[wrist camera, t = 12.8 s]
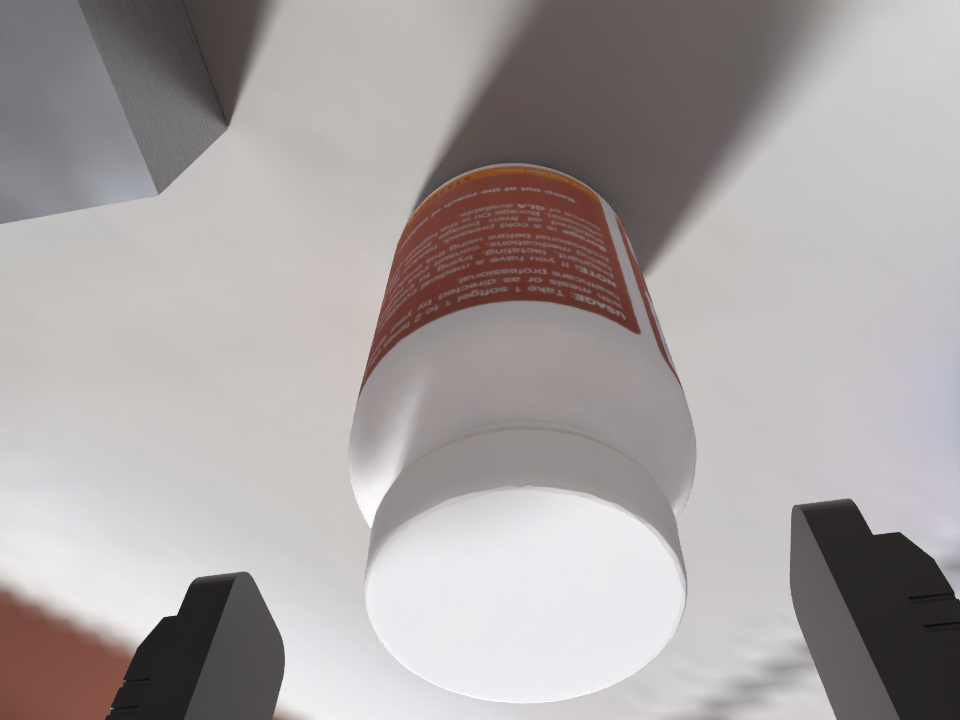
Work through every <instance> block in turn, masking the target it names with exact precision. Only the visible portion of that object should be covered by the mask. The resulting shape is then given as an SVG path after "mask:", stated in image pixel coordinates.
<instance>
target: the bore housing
mask: <svg viewBox="0 0 960 720" xmlns="http://www.w3.org/2000/svg"><path fill="white" fill-rule="evenodd" d="M227 129H228V128H227V125H226V123H225V120H224V117H223V114H222V111H221V109H220V106H219V103H218V100H217V97H216V94H215V92H214V89H213V86H212V83H211V80H210V77H209V75H208V72H207V69H206V66H205V63H204V61H203V58H202V55H201V52H200V49H199V46H198V44H197V41H196V38H195V35H194V32H193V29H192V27H191V24H190V21H189V18H188V15H187V12H186V10H185V7H184V4H183V1H182V0H0V224H3V223H9V222H14V221H20V220H25V219H31V218H36V217H41V216H47V215H52V214H58V213H63V212H69V211H74V210H80V209H85V208H91V207H96V206H102V205H107V204H113V203H118V202H124V201H129V200H135V199H140V198H146V197H151V196H157V195H159V194H160V193H161V192H163V191H164V190H165V189H166V188H167V187H168V186H169V185H170V184H171V183H172V182H173V181H174V180H175V179H176V178H177V177H178V176H179V175H180V174H181V173H182V172H183V171H184V170H185V169H186V168H188V167H189V166H190V165H191V164H192V163H193V162H194V161H195V160H196V159H197V158H198V157H199V156H200V155H201V154H202V153H203V152H204V151H205V150H206V149H207V148H208V147H209V146H210V145H212V144H213V143H214V142H215V141H216V140H217V139H218V138H219V137H220V136H221V135H222V134H223V133H224V132H225V131H226V130H227Z"/></svg>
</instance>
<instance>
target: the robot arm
mask: <svg viewBox="0 0 960 720" xmlns="http://www.w3.org/2000/svg"><path fill="white" fill-rule="evenodd" d="M790 588H791V595H792V600H793V605H794V609H795V613H796V616H797V619H798V622H799V625H800V628H801V630H802V633H803V635H804V638H805V640H806V643H807V645H808V648H809V650H810V653H811V656H812V658H813V661H814V663H815V666H816V668H817V671H818V673H819V676H820V678H821V681H822V683H823V686H824V688H825V691H826V693H827V696H828V698H829V701H830V704H831V706H832V709H833V711H834V714H835V716H836V719H837V720H960V600H959V599H956V598H955V594H954V591H953V589H952V588H951V586H950V584H949V583H948V581H947V580H946V578H945V576H944V575H943V573H942V572H941V570H940V568H939V567H938V565H937V564H936V562H935V560H934V559H933V558H932V557H931V556H929V555H928V554H927V553H926V552H924V551H923V550H922V549H920V548H919V547H918V546H917V545H915V544H914V543H913V542H912V541H910V540H909V539H908V538H907V537H905V536H904V535H903V534H901V533H900V532H895V533H886V534H878V535H873V534H872V532H871V530H870V529H869V527H868V525H867V523H866V521H865V520H864V518H863V516H862V514H861V512H860V511H859V509H858V507H857V506H856V504H855V503H854V502H853V501H852V500H851V499H841V500H833V501H825V502H817V503H809V504H801V505H794V506H793V509H792V516H791V552H790ZM284 666H285V654H284V645H283V641H282V637H281V635H280V632H279V630H278V628H277V626H276V624H275V622H274V620H273V618H272V616H271V614H270V612H269V610H268V608H267V606H266V604H265V602H264V599H263V597H262V595H261V593H260V591H259V589H258V587H257V585H256V583H255V581H254V579H253V578H252V576H251V575H250V574H249V573H248V572H237V573H229V574H221V575H213V576H205V577H198V578H196V579H195V580H194V581H193V582H192V583H191V584H190V586H189V588H188V590H187V593H186V595H185V598H184V600H183V602H182V605H181V607H180V609H179V612H178V614H177V616H169V617H164V618H163V619H162V620H161V621H160V622H159V623H158V625H157V626H156V627H155V628H154V629H153V630H152V632H151V633H150V634H149V635H148V636H147V637H146V639H145V640H144V641H143V642H142V643H141V644H140V646H139V647H138V648H137V651H136V653H135V655H134V657H133V659H132V662H131V664H130V666H129V668H128V670H127V673H126V675H125V677H124V679H123V687H121V688H119V690H118V692H117V695H116V697H115V699H114V701H113V703H112V706H111V708H110V709H111V714H110V715H107V717H106V719H105V720H272V718H273V714H274V710H275V707H276V703H277V699H278V695H279V691H280V687H281V683H282V680H283V675H284Z"/></svg>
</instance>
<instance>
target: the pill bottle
mask: <svg viewBox="0 0 960 720" xmlns="http://www.w3.org/2000/svg"><path fill="white" fill-rule="evenodd" d="M695 466H696V438H695V432H694V427H693V423H692V419H691V415H690V412H689V408H688V405H687V401H686V398H685V395H684V392H683V389H682V386H681V383H680V381H679V378H678V375H677V372H676V369H675V367H674V364H673V361H672V358H671V355H670V352H669V350H668V347H667V344H666V341H665V338H664V335H663V332H662V329H661V326H660V323H659V320H658V317H657V315H656V312H655V309H654V306H653V303H652V300H651V297H650V295H649V292H648V289H647V286H646V283H645V281H644V278H643V275H642V272H641V269H640V266H639V263H638V261H637V259H636V256H635V253H634V250H633V247H632V245H631V242H630V240H629V237H628V235H627V233H626V231H625V228H624V227H623V225H622V223H621V221H620V219H619V218H618V216H617V215H616V213H615V212H614V211H613V209H612V208H611V207H610V206H609V204H608V203H607V202H606V201H605V200H604V199H603V198H602V197H601V196H600V195H599V194H598V193H597V192H595V191H594V190H593V189H592V188H590V187H589V186H587V185H586V184H585V183H583V182H581V181H579V180H578V179H576V178H574V177H572V176H570V175H568V174H565V173H563V172H560V171H557V170H554V169H551V168H547V167H544V166H539V165H533V164H526V163H503V164H494V165H488V166H483V167H480V168H476V169H473V170H470V171H467V172H465V173H463V174H460V175H458V176H456V177H454V178H452V179H451V180H449V181H447V182H446V183H444V184H443V185H441V186H440V187H439V188H437V189H436V190H435V191H433V192H432V193H431V194H430V195H429V196H428V197H427V198H426V199H425V200H424V201H423V202H422V203H421V204H420V205H419V206H418V208H417V209H416V210H415V211H414V213H413V214H412V216H411V217H410V219H409V221H408V222H407V224H406V226H405V228H404V230H403V232H402V235H401V237H400V240H399V242H398V245H397V248H396V251H395V255H394V259H393V263H392V267H391V271H390V275H389V279H388V283H387V287H386V291H385V295H384V299H383V302H382V306H381V310H380V314H379V318H378V322H377V326H376V330H375V334H374V338H373V342H372V346H371V350H370V353H369V357H368V361H367V365H366V369H365V373H364V376H363V380H362V384H361V388H360V392H359V397H358V401H357V405H356V409H355V413H354V417H353V424H352V428H351V434H350V442H349V471H350V477H351V483H352V487H353V490H354V494H355V497H356V500H357V503H358V505H359V507H360V509H361V511H362V514H363V516H364V518H365V519H366V521H367V523H368V525H369V526H370V528H371V536H370V545H369V552H368V559H367V566H366V572H365V590H364V593H365V605H366V609H367V612H368V616H369V619H370V621H371V624H372V626H373V628H374V630H375V632H376V634H377V636H378V637H379V639H380V640H381V642H382V643H383V645H384V646H385V647H386V649H387V650H388V651H389V652H390V653H391V654H392V655H393V656H394V657H395V658H396V659H397V660H398V661H399V662H400V663H401V664H402V665H404V666H405V667H406V668H407V669H409V670H410V671H411V672H413V673H415V674H416V675H418V676H420V677H422V678H423V679H425V680H427V681H429V682H430V683H432V684H435V685H437V686H439V687H442V688H444V689H447V690H449V691H452V692H455V693H458V694H462V695H466V696H469V697H473V698H479V699H484V700H489V701H500V702H511V703H541V702H552V701H560V700H565V699H570V698H574V697H578V696H582V695H586V694H590V693H593V692H596V691H599V690H601V689H604V688H607V687H609V686H611V685H613V684H615V683H617V682H619V681H621V680H623V679H625V678H627V677H629V676H631V675H632V674H634V673H636V672H637V671H639V670H640V669H641V668H643V667H644V666H645V665H647V664H648V663H649V662H650V661H651V660H652V659H653V658H655V657H656V656H657V655H658V654H659V653H660V652H661V651H662V650H663V648H664V647H665V646H666V645H667V643H668V642H669V640H670V639H671V638H672V636H673V635H674V633H675V632H676V630H677V628H678V626H679V625H680V622H681V619H682V616H683V613H684V610H685V606H686V599H687V576H686V569H685V565H684V560H683V555H682V551H681V546H680V541H679V537H678V529H677V523H676V522H677V520H678V518H679V516H680V514H681V513H682V511H683V509H684V507H685V504H686V502H687V500H688V498H689V495H690V491H691V488H692V485H693V480H694V475H695Z"/></svg>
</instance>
